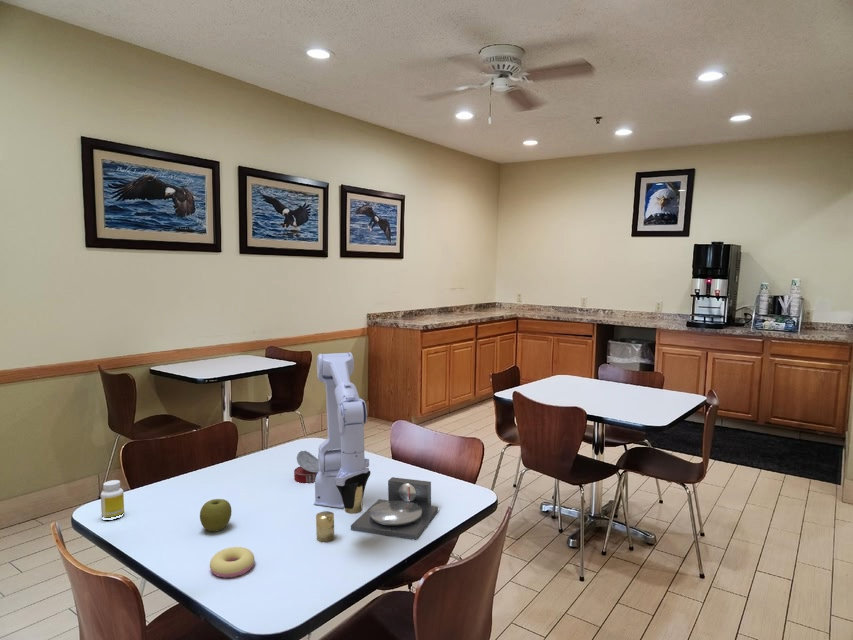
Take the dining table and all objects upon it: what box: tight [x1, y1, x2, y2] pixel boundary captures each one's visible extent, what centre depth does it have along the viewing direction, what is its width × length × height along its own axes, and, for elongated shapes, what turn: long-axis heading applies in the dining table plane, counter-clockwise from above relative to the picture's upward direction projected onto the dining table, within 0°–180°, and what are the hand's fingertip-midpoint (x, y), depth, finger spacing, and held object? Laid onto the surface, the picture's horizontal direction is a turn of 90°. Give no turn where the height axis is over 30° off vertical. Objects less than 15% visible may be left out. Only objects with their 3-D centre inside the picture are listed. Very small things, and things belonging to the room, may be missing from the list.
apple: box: [199, 498, 233, 533], centre depth 142 cm, size 8×8×7 cm
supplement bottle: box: [100, 479, 125, 518], centre depth 149 cm, size 5×5×10 cm
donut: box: [209, 546, 255, 578], centre depth 123 cm, size 10×5×9 cm
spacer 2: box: [344, 484, 364, 515], centre depth 134 cm, size 4×4×6 cm
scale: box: [350, 476, 439, 541], centre depth 148 cm, size 18×21×7 cm
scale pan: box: [370, 501, 422, 525], centre depth 146 cm, size 14×14×1 cm
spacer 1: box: [315, 510, 335, 543], centre depth 136 cm, size 4×4×6 cm
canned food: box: [293, 450, 319, 484], centre depth 179 cm, size 11×10×10 cm
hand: (353, 504), depth 134 cm, fingers closed on spacer 2, 4 cm apart
